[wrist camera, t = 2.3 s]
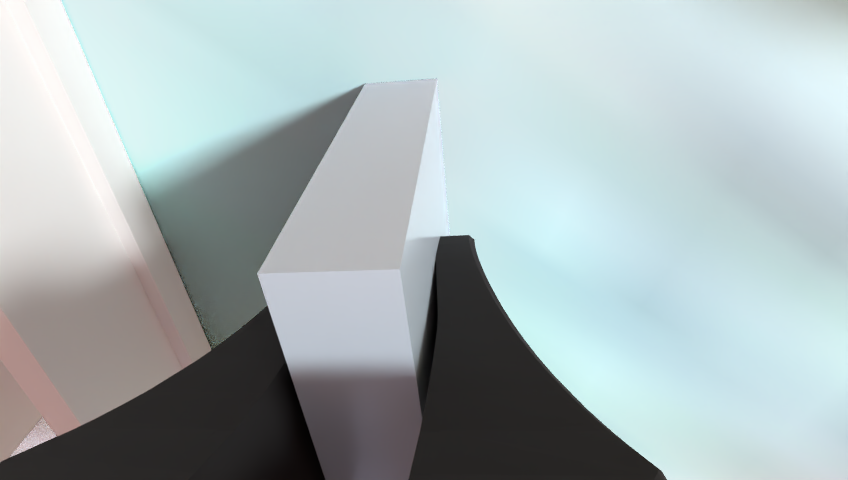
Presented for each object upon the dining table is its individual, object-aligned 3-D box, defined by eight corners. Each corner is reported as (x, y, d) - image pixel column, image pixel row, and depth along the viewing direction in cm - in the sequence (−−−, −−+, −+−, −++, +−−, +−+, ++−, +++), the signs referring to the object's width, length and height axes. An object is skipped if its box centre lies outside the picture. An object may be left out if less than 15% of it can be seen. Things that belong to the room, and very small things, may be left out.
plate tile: (456, 320, 15) (446, 585, 9) (402, 322, 15) (359, 582, 10) (436, 77, 11) (399, 268, 6) (365, 83, 12) (256, 273, 6)
